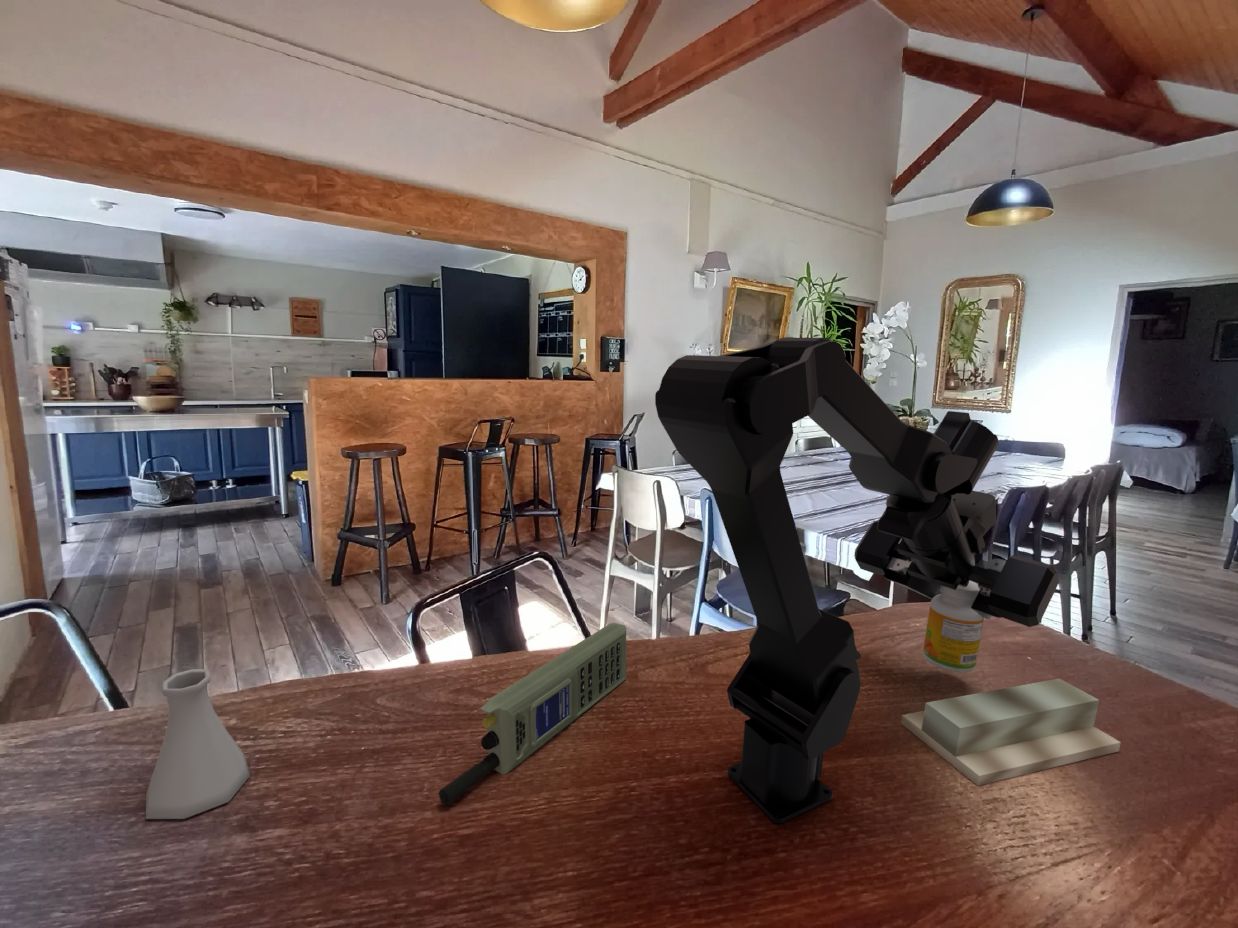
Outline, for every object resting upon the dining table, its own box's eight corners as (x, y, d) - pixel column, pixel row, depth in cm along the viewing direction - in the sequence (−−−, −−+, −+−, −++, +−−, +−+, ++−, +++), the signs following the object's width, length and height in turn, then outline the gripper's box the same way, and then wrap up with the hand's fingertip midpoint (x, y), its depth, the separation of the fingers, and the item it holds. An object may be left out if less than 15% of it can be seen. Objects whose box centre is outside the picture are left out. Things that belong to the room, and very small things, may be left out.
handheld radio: (631, 681, 66) (457, 822, 45) (607, 673, 68) (430, 804, 47) (631, 627, 65) (454, 745, 44) (607, 619, 66) (426, 730, 46)
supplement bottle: (923, 645, 71) (935, 570, 69) (974, 658, 68) (988, 581, 66) (920, 664, 66) (933, 585, 64) (975, 679, 63) (989, 596, 62)
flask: (163, 768, 50) (149, 662, 48) (259, 751, 52) (250, 649, 50) (126, 834, 43) (108, 714, 41) (239, 810, 45) (227, 696, 44)
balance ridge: (977, 785, 51) (984, 745, 50) (901, 723, 59) (906, 688, 59) (1118, 751, 56) (1126, 714, 56) (1030, 698, 65) (1036, 666, 64)
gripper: (1071, 486, 53) (1087, 576, 61) (879, 454, 68) (914, 530, 76) (1023, 583, 50) (1046, 664, 58) (833, 527, 65) (874, 598, 73)
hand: (962, 606), depth 67 cm, fingers closed on supplement bottle, 5 cm apart
